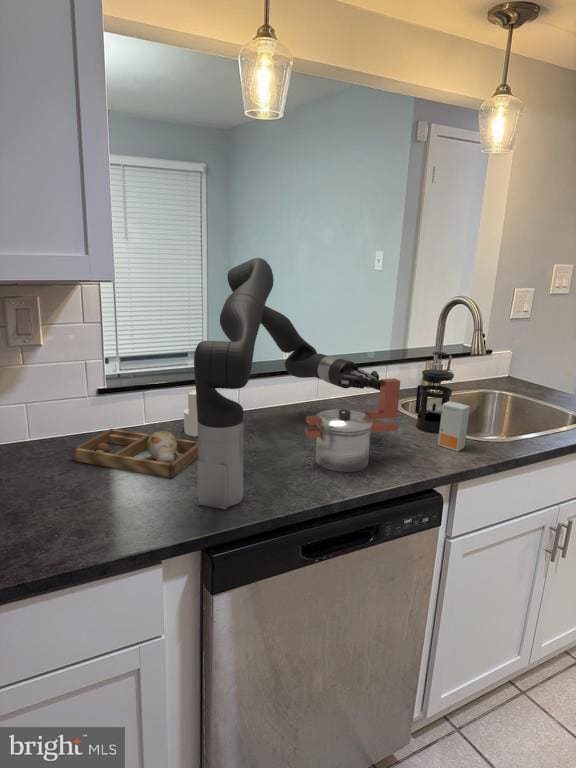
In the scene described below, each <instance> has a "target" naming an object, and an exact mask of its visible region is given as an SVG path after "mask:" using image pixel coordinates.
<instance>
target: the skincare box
mask: <svg viewBox="0 0 576 768" xmlns="http://www.w3.org/2000/svg"><path fill="white" fill-rule="evenodd" d="M470 409H471V406H470V405H466V404H462V403H459V402H454V401H451V400H449V402H446V403H444V404H443V406H442V414H441V422H440V430H439V433H438V438H437V439H438V440H437V446H440V447H443V448H445V449H449V450H453V451H455V452H459V451H461V450H463V449H464V448H465V446H466V439H467V430H468V421H469V416H470Z"/></svg>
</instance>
